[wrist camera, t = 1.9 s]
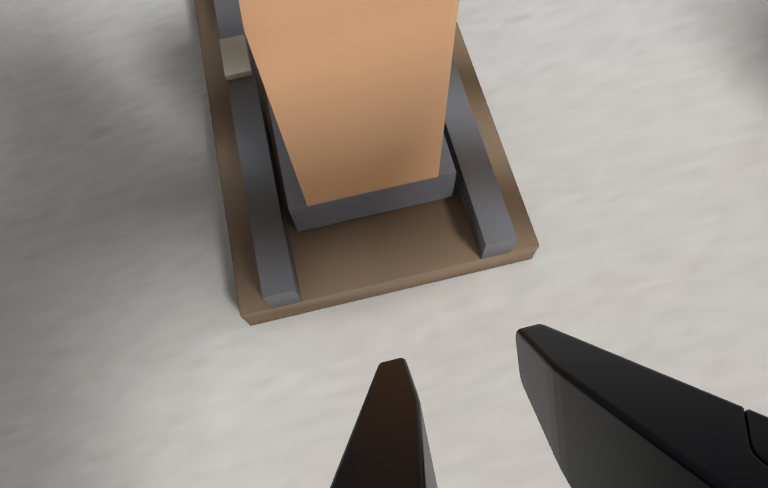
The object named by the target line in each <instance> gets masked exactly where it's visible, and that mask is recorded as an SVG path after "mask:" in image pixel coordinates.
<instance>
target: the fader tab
mask: <svg viewBox="0 0 768 488" xmlns="http://www.w3.org/2000/svg"><path fill="white" fill-rule="evenodd" d="M458 2H459V0H239V6H240V11H241V16H242V22H243V27H244V32H245V35H246V37H247V40H248V43H249V46H250V48H251V51H252V54H253V57H254V59H255V62H256V65H257V68H258V71H259V73H260V76H261V79H262V82H263V84H264V87H265V90H266V96H267V101H268V106H269V111H270V116H271V121H272V127H273V132H274V137H275V142H276V147H277V152H278V158H279V163H280V168H281V173H282V178H283V183H284V189H285V194H286V199H287V204H288V209H289V212H290V215H291V217H292V219H293V221H294V224H295V226H296V228H297V231H298V232H300V231H304V230H309V229H313V228H317V227H322V226H326V225H330V224H335V223H339V222H343V221H348V220H352V219H356V218H361V217H365V216H369V215H374V214H378V213H382V212H387V211H391V210H395V209H400V208H404V207H409V206H413V205H417V204H422V203H426V202H430V201H435V200H439V199H443V198H448V197H452V195H453V189H454V183H455V178H456V170H455V166H454V163H453V160H452V157H451V154H450V151H449V148H448V145H447V142H446V139H445V136H444V133H443V132H444V124H445V115H446V106H447V98H448V89H449V80H450V72H451V63H452V54H453V46H454V37H455V28H456V20H457V11H458Z"/></svg>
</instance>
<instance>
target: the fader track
mask: <svg viewBox="0 0 768 488" xmlns="http://www.w3.org/2000/svg"><path fill="white" fill-rule="evenodd" d="M194 1H195V7H196V14H197V21H198V28H199V35H200V42H201V48H202V55H203V62H204V69H205V76H206V82H207V89H208V96H209V103H210V110H211V116H212V123H213V130H214V137H215V144H216V150H217V157H218V164H219V171H220V178H221V185H222V191H223V198H224V205H225V212H226V219H227V225H228V232H229V239H230V246H231V253H232V259H233V266H234V273H235V280H236V287H237V293H238V300H239V307H240V314H241V317H242V318H243V319H244V320H245V321H246V322H247V323H248V324H249V325H250V326H251V325H256V324H260V323H264V322H268V321H272V320H277V319H281V318H285V317H289V316H293V315H297V314H302V313H306V312H310V311H314V310H318V309H323V308H327V307H331V306H335V305H339V304H344V303H348V302H352V301H356V300H360V299H365V298H369V297H373V296H377V295H381V294H386V293H390V292H394V291H398V290H402V289H406V288H411V287H415V286H419V285H423V284H427V283H432V282H436V281H440V280H444V279H448V278H453V277H457V276H461V275H465V274H469V273H474V272H478V271H482V270H486V269H490V268H495V267H499V266H503V265H507V264H511V263H516V262H520V261H524V260H528V259H532V257H533V255H534V254H535V252H536V250H537V248H538V247H539V243H538V241H537V238H536V235H535V233H534V230H533V227H532V224H531V222H530V219H529V216H528V214H527V211H526V208H525V205H524V203H523V200H522V197H521V195H520V192H519V189H518V187H517V184H516V181H515V178H514V176H513V173H512V170H511V168H510V165H509V162H508V159H507V157H506V154H505V151H504V149H503V146H502V143H501V140H500V138H499V135H498V132H497V130H496V127H495V124H494V122H493V119H492V116H491V113H490V111H489V108H488V105H487V103H486V100H485V97H484V94H483V92H482V89H481V86H480V84H479V81H478V78H477V75H476V73H475V70H474V67H473V65H472V62H471V59H470V57H469V54H468V51H467V48H466V46H465V43H464V40H463V38H462V35H461V32H460V29H459V27H458V24H457V21H456V28H455V37H454V46H453V54H452V63H451V72H450V80H449V89H448V98H447V106H446V115H445V124H444V132H443V133H444V136H445V139H446V142H447V145H448V148H449V151H450V154H451V157H452V160H453V163H454V166H455V170H456V178H455V183H454V189H453V195H452V197H448V198H443V199H439V200H435V201H430V202H426V203H422V204H417V205H413V206H409V207H404V208H400V209H395V210H391V211H387V212H382V213H378V214H374V215H369V216H365V217H361V218H356V219H352V220H348V221H343V222H339V223H335V224H330V225H326V226H322V227H317V228H313V229H309V230H304V231H300V232H298V231H297V228H296V226H295V224H294V221H293V219H292V217H291V215H290V212H289V209H288V204H287V199H286V194H285V189H284V183H283V178H282V173H281V168H280V163H279V158H278V152H277V147H276V142H275V137H274V132H273V127H272V121H271V116H270V111H269V106H268V101H267V96H266V90H265V87H264V84H263V82H262V79H261V76H260V73H259V71H258V68H257V65H256V62H255V59H254V57H253V54H252V51H251V48H250V46H249V43H248V40H247V37H246V35H245V32H244V27H243V22H242V16H241V11H240V6H239V0H194Z"/></svg>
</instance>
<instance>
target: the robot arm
mask: <svg viewBox="0 0 768 488" xmlns="http://www.w3.org/2000/svg"><path fill="white" fill-rule="evenodd" d="M516 346H517V354H518V363H519V372H520V377H521V381H522V384H523V387H524V389H525V391H526V393H527V396H528V398H529V400H530V402H531V405H532V407H533V409H534V411H535V413H536V416H537V418H538V420H539V422H540V425H541V427H542V429H543V431H544V434H545V436H546V438H547V440H548V442H549V445H550V447H551V449H552V451H553V454H554V456H555V458H556V460H557V462H558V464H559V466H560V469H561V470H562V472H563V474H564V476H565V478H566V479H567V481H568V483H569V485H570V486H571V488H768V417H766V416H764V415H761V414H759V413H757V412H754V411H752V410H746V411H744V408H743V407H742V406H739V405H737V404H734V403H732V402H729V401H727V400H725V399H722V398H720V397H717V396H715V395H712V394H710V393H708V392H705V391H703V390H700V389H698V388H696V387H693V386H691V385H688V384H686V383H683V382H681V381H679V380H676V379H674V378H671V377H669V376H666V375H664V374H662V373H659V372H657V371H654V370H652V369H650V368H647V367H645V366H642V365H640V364H637V363H635V362H633V361H630V360H628V359H625V358H623V357H620V356H618V355H616V354H613V353H611V352H608V351H606V350H603V349H601V348H599V347H596V346H594V345H591V344H589V343H587V342H584V341H582V340H579V339H577V338H574V337H572V336H570V335H567V334H565V333H562V332H560V331H557V330H555V329H553V328H550V327H548V326H545V325H542V324H537V325H533V326H529V327H525V328H521V329H519V330H518V331H517V332H516ZM330 488H437V483H436V478H435V473H434V468H433V463H432V458H431V454H430V449H429V444H428V439H427V434H426V429H425V424H424V419H423V414H422V409H421V404H420V400H419V397H418V394H417V391H416V388H415V385H414V382H413V379H412V377H411V374H410V371H409V368H408V365H407V363H406V360H405V359H403V358H398V359H394V360H390V361H386V362H382V363H380V364H379V366H378V368H377V371H376V373H375V376H374V378H373V381H372V383H371V386H370V388H369V391H368V393H367V396H366V398H365V401H364V403H363V406H362V408H361V411H360V413H359V416H358V418H357V421H356V424H355V426H354V429H353V431H352V434H351V436H350V439H349V441H348V444H347V446H346V449H345V451H344V454H343V456H342V459H341V461H340V464H339V466H338V469H337V471H336V474H335V477H334V479H333V482H332V484H331V487H330Z"/></svg>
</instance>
